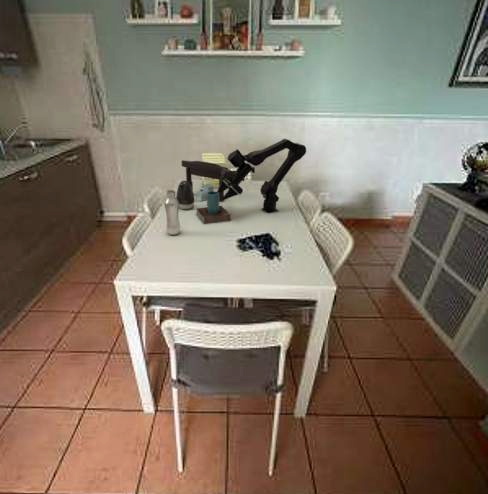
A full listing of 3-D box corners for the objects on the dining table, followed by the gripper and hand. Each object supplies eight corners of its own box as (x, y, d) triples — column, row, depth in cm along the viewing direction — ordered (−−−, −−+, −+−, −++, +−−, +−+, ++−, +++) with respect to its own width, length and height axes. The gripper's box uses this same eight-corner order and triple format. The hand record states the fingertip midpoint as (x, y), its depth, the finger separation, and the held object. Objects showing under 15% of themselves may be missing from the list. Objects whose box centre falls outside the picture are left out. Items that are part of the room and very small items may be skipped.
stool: (220, 169, 172) (172, 161, 188) (220, 207, 182) (174, 196, 198) (235, 164, 184) (189, 156, 199) (234, 199, 194) (190, 190, 209)
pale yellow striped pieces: (229, 190, 210) (230, 162, 201) (205, 191, 208) (204, 163, 199) (224, 178, 236) (224, 153, 227) (202, 178, 234) (202, 153, 225)
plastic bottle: (183, 231, 153) (181, 190, 143) (176, 237, 147) (173, 194, 137) (171, 229, 154) (167, 188, 145) (164, 235, 149) (160, 192, 139)
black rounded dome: (172, 209, 178) (170, 182, 171) (182, 203, 187) (180, 177, 179) (189, 212, 175) (188, 184, 168) (198, 206, 183) (197, 179, 176)
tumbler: (215, 214, 173) (215, 190, 166) (221, 218, 168) (221, 193, 162) (205, 216, 170) (204, 192, 163) (211, 220, 165) (210, 195, 159)
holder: (221, 211, 177) (221, 205, 176) (231, 220, 165) (231, 214, 164) (196, 214, 173) (195, 208, 171) (203, 224, 161) (203, 218, 159)
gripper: (224, 158, 166) (203, 181, 168) (237, 167, 151) (215, 192, 153) (237, 173, 173) (217, 195, 174) (252, 182, 157) (230, 206, 159)
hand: (219, 196), depth 165 cm, fingers open, 9 cm apart
